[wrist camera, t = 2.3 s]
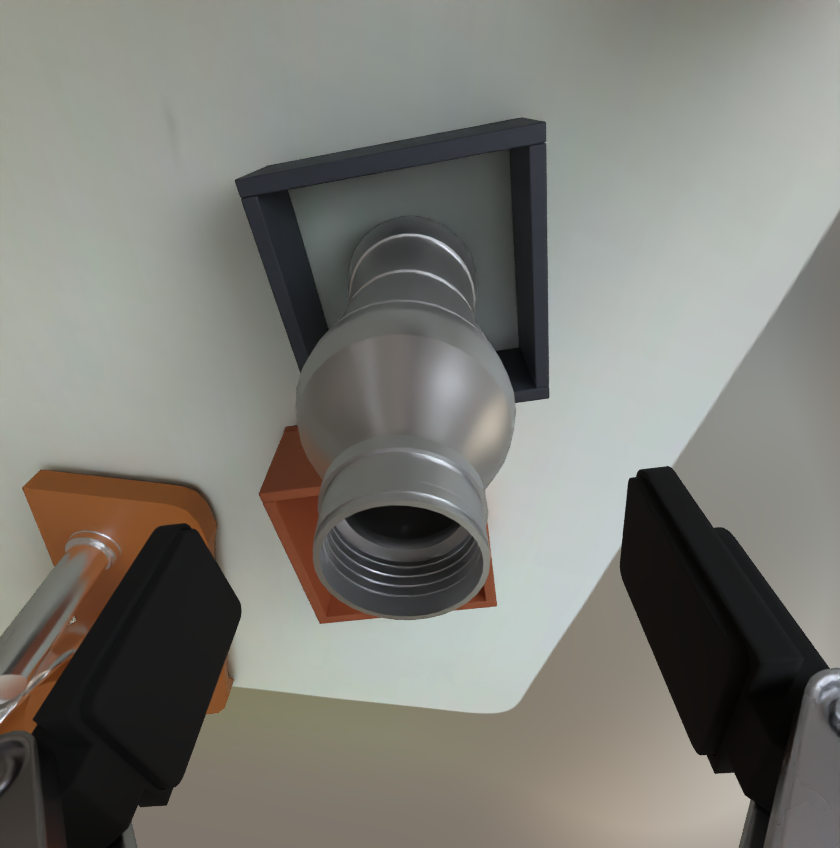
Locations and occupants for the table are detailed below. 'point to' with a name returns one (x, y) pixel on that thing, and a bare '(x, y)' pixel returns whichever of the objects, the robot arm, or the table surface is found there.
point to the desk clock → (85, 576)
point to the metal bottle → (405, 427)
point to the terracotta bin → (296, 524)
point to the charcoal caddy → (521, 136)
